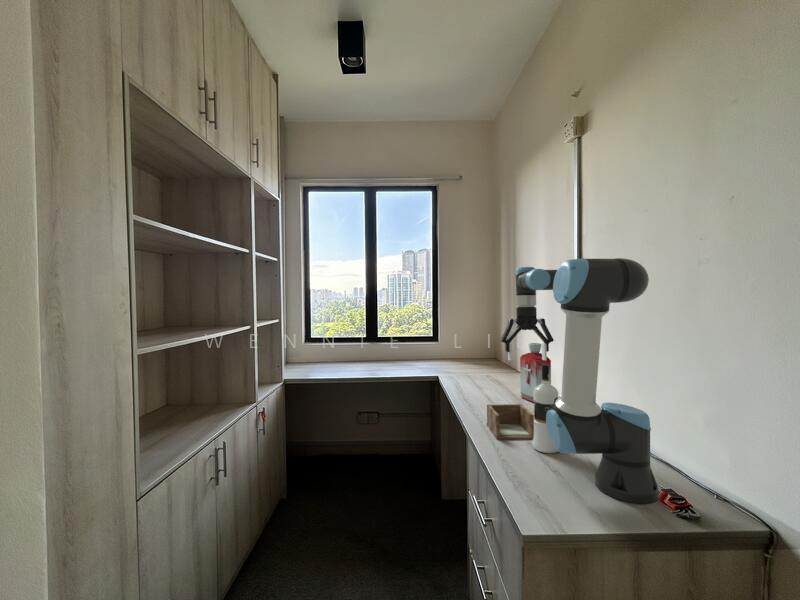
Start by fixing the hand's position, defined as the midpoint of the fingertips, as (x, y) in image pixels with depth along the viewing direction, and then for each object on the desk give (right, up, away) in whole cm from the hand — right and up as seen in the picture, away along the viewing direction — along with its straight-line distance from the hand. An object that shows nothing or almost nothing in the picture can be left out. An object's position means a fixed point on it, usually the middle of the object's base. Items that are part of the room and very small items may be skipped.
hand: (527, 360), depth 146 cm
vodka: (+2, -30, -14) cm, 33 cm away
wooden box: (-6, -29, +3) cm, 30 cm away
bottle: (+21, -29, +47) cm, 59 cm away
